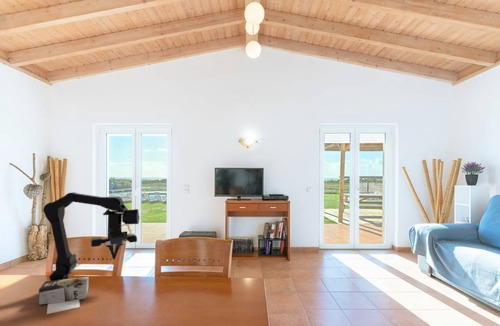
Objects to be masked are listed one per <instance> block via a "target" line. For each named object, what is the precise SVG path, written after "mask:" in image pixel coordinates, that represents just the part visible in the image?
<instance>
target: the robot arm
mask: <svg viewBox="0 0 500 326" xmlns="http://www.w3.org/2000/svg"><path fill="white" fill-rule="evenodd" d="M73 203H80V204H87V205H93V206H99V207H101V208H104V209H106V210H105V212H103V213H102V216H107V234H106V235H107V236H106V238H101V237H92V238H91V239H90V246H91V247H92V248H93V247H100V246H101V245H102V244H104V246H105V247H106V248H108V250H109V252H110V255H111V258H112V260H115V259H116V257H117V254H118V252H119V249H120V248H121V246H124V244H125V243H124V242H129V243H136V242H137V241H138V237H137V235H136V234H134V233H131V234H130V233H128V231H122V223H123V224H124V225H139V222H140V212H139V209H138V208H135V209H128V208H127V206H126V205H125V204H124V199H122V197H120V196H97V195H92V194H91V195H90V194H84V193H79V192H74V191H73V192H68V193H66V194H65V195H64V196H61V197H59V198H58V199H56V200H55V201H52V202H48V203H46V204H44V207H43V210H42V211H43V213H44V215H45V218H46V220H47V221H48V222H49V224H50V225H51V231H52V235H53V236H52V237H53V241H54V245H55V250H56V259H55V270H54V271H53V272H52V273H51V274H49V281H55V280H64V279H70V278H69V276H70V275H71V274H72V272H73V270H75V269H76V267H77V263H78V259H77V255H76V253H73V254H72V252H71V251H70V247H69V243H68V238H67V232H66V228H65V222H64V217H65V214H66V213H65V212H66V211H65V210H66V208H67V207H69V206H70V205H71V204H73Z"/></svg>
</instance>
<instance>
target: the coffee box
mask: <svg viewBox="0 0 500 326" xmlns="http://www.w3.org/2000/svg"><path fill="white" fill-rule="evenodd" d="M88 292H89V276H85V277H82V276H81V277H75V278H69V279H64V280H55V281H51V280H48V281H47V280H45V281H44V282H43V284H42V285H41V286H40V287H39V288H38V305H39V306H40V305H48V304H49V303H57V302H65V301H72V300H79V301H80V300H85V299H86V297H87V294H88Z"/></svg>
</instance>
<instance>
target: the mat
mask: <svg viewBox="0 0 500 326" xmlns="http://www.w3.org/2000/svg"><path fill="white" fill-rule="evenodd" d="M80 307H81V305H80V300H72V301H65V302H57V303H49V304H47V309H46V315H50V314H54V313H60V312H64V311H68V310H74V309H80Z"/></svg>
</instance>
